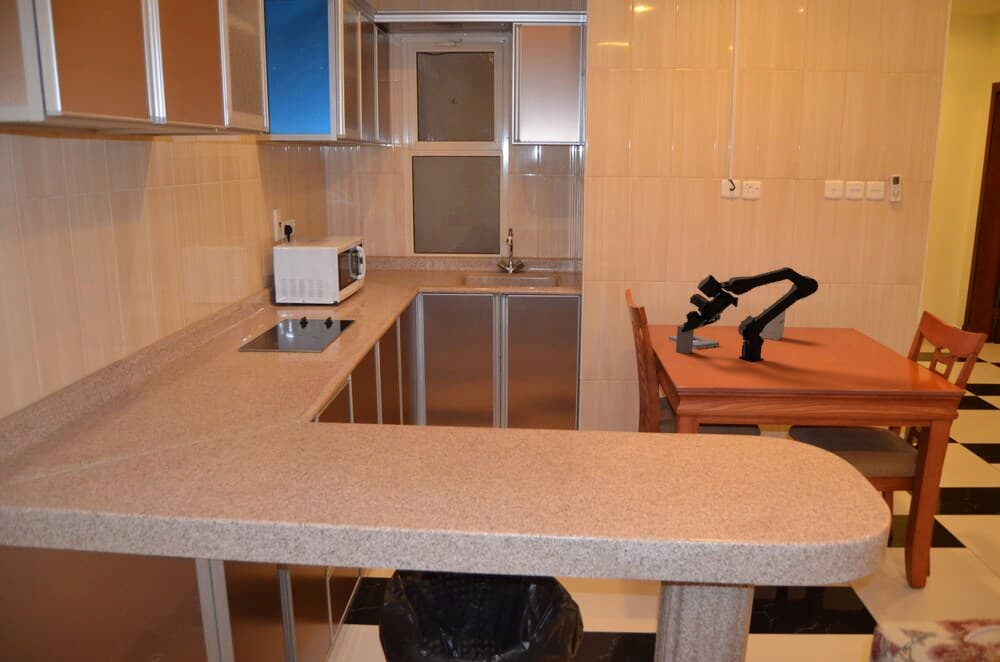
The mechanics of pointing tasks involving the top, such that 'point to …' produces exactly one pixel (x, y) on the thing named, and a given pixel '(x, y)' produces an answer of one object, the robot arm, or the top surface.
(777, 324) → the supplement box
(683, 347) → the plug
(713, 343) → the socket
